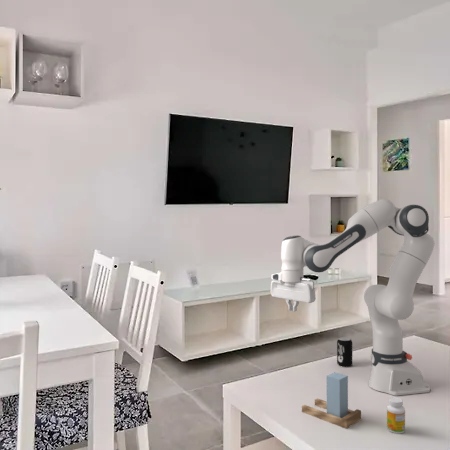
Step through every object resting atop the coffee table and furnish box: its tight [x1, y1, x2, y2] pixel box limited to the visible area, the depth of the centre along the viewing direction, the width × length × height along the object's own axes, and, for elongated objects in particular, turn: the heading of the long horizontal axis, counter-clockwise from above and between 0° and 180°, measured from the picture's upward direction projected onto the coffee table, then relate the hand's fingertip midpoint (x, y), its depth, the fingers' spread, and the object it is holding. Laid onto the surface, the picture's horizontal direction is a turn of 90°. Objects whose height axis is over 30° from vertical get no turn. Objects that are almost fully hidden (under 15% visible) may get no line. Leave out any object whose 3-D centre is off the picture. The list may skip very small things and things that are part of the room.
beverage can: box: [336, 336, 353, 368], centre depth 208 cm, size 7×7×12 cm
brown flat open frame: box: [301, 397, 362, 429], centre depth 159 cm, size 18×9×3 cm, turn 44°
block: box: [326, 371, 349, 418], centre depth 157 cm, size 5×5×14 cm
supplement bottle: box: [386, 396, 406, 435], centre depth 148 cm, size 5×5×10 cm
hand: (292, 310), depth 188 cm, fingers closed
